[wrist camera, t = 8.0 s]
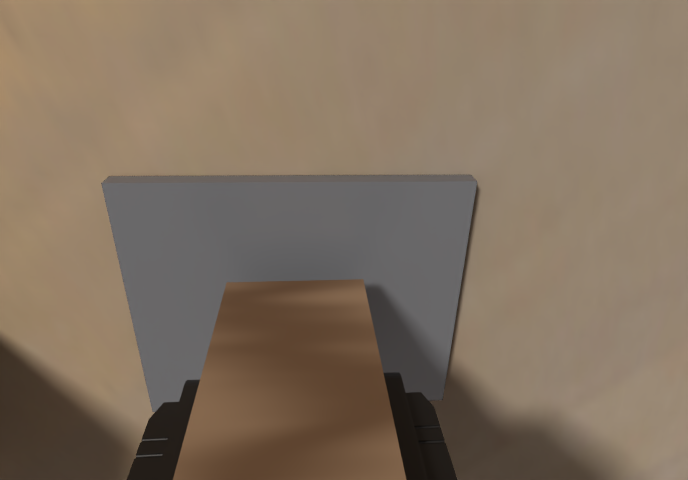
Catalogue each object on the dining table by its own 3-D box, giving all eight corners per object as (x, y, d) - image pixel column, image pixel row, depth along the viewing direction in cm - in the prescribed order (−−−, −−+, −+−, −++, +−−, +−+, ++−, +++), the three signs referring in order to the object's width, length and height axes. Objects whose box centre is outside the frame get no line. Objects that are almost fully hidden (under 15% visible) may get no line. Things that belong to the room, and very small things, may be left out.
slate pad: (471, 174, 15) (477, 181, 14) (438, 388, 19) (442, 400, 18) (109, 175, 14) (101, 183, 13) (157, 399, 18) (152, 411, 18)
